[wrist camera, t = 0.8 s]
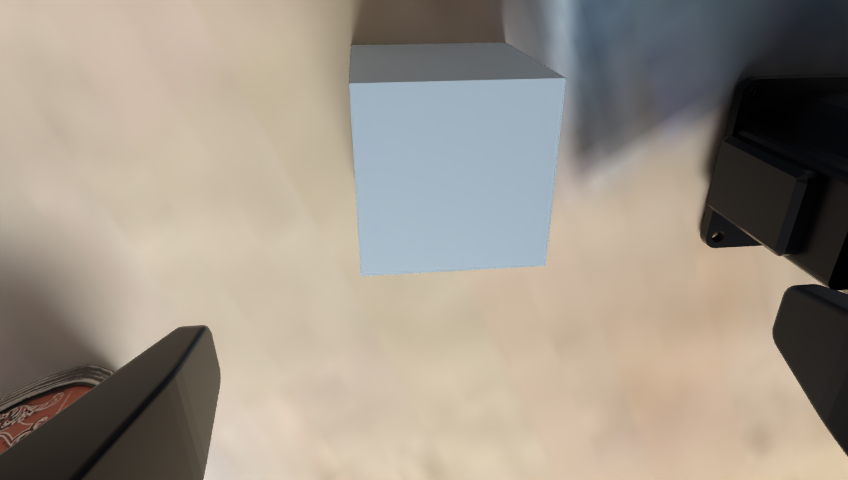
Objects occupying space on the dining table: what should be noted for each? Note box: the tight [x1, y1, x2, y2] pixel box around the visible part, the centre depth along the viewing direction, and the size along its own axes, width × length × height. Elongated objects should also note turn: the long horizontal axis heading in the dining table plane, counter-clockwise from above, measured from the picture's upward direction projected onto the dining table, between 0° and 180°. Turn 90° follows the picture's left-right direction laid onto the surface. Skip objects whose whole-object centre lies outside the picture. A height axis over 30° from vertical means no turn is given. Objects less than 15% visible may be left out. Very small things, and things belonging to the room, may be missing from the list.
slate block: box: [349, 42, 566, 276], centre depth 17 cm, size 5×5×6 cm
